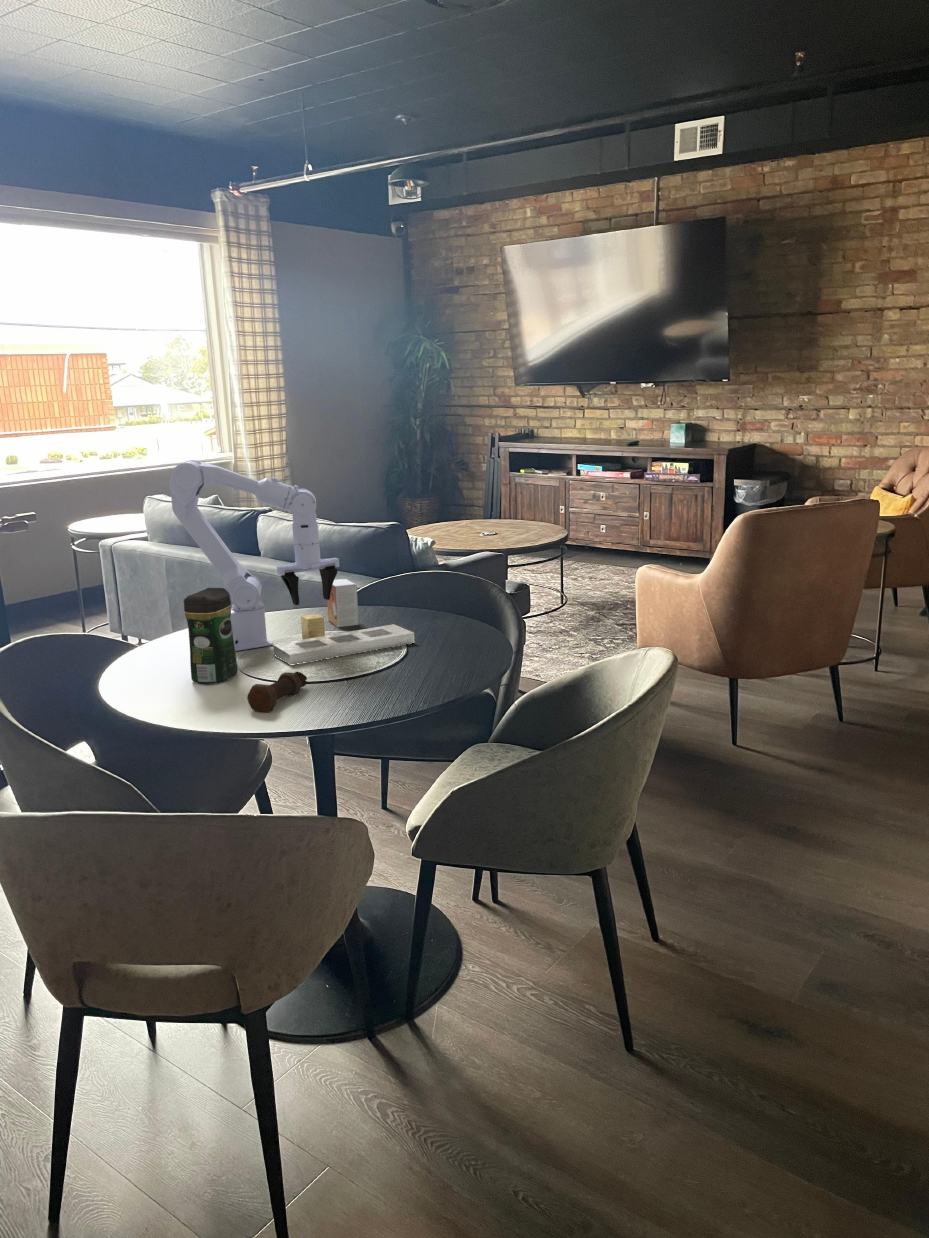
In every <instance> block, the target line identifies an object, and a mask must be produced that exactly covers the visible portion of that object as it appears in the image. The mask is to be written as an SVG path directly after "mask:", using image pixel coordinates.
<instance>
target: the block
mask: <svg viewBox="0 0 929 1238" xmlns="http://www.w3.org/2000/svg"><path fill="white" fill-rule="evenodd" d="M300 621H301V637H302V638H301V640H304V639H309V638H315V637H321V636H326V635H325V617H324V616H323V615H321V614H319V613H313V614H305V615H301V616H300Z"/></svg>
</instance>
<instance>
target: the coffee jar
mask: <svg viewBox="0 0 929 1238" xmlns="http://www.w3.org/2000/svg"><path fill="white" fill-rule="evenodd" d="M228 591H229V590H226V589H225V587H206V588H205V589H202V590H200V591H197V592H196V593H192V594H189V595H187V596H186V597H184V599H183V613H184V616H185V618H186V619H185V620H186V623H187V628H188V630H187V631H188V638H189V639H188V640H189V642H188V644H189V659H190V660H189V664H190V665H189V667H190V676H191V677H190V678H191V681H192V682H194V683H196V684H199V685H206V686H208V685H213V684H221V683H224V682H227V681H228V680H230V679H232V678H233V677H234V676H236V675H237V674H238V672H239V667H238V660H237V655H236V651H235V647H234V640H233V633H232V625H231V609H232V600H231V595H230V592H228Z"/></svg>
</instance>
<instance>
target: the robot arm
mask: <svg viewBox="0 0 929 1238" xmlns="http://www.w3.org/2000/svg"><path fill="white" fill-rule="evenodd" d="M168 484H169V489H170V495H171V497H170V498H171V507H172V508H171V509H172V512H173V514H174V516H175V517H176V518H177V519H178V521H179V522H180V524H181V525H182V526H183V527H184V529H185V530H186V532H187V533H188V534H189V535H190V537H191V538H192V539H193V541H194V542H195V544H197V546H198V548H200V550H201V551H202V553H203V554H204V555H205V557H207V559H208V560H209V562H210V563H211V564H212V566H213V567H214V569H216V571H217V572H218V573H219V575H220V577H222V581H223V583H224V586H225V587H226V589H227V591H229V592H228V593H229V595H230V600H231V603H232V604H231V625H232V633H233V640H234V647H235V652H238V651H244V650H249V649H257V648H262V647H268V646H273V645H274V642H272V641H271V640H269V639H268V637H267V624H266V613H265V611H266V610H265V603H264V602H263V601H262V600H261V599H260V596H261V595H262V593H263V587H264V586H263V584H262V582H261V580H260V579H259V578H258V577H257V576H255V575H253V574H251V573H250V572H249V570H247V568H246V567H244V566H243V565H242V564H241V563H240V562H239V561H238V559H237V558H236V557H235V555H234V554H233V553H232V551H231V550H230V549H229V547H228V546H227V545H226V543H225V542H224V541H223V540H222V538H221V537H220V535H219V534H218V533H217V531H216V530H215V529H214V528H213V526H212V525H211V523H210V522H209V520H208V519H207V518H206V516H205V515H204V514H203V513H202V511H201V510H200V508H199V507H198V503H199V499H200V498H199V497H200V493H201V490H202V489H203V487H204V488H206V487H212V486H216V485H222V486H224V487H228V488H230V489H235V490H239V491H242V492H245V493H249V494H251V495H254V496H255V497H256V499H257V501H258V503H261V504H263V505H267V506H268V507H269V506H271V507H273V508H276V509H279V510H282V511H290V512H291V516H292V524H291V526H292V539H293V549H294V559H295V562H291V563H286V564H282V565H277V566H276V573H277V574H276V575H278V576H280V578H281V580H282V581H283V583H284V585H285V587H286V588H287V590H288V592H289V595H290V598H291V601H292V604H293V605H295V606H298V605H299V606H300V595H299V576H298V575H296V574H297V573H303V572H311V571H316V570H319V574H320V579H321V583H322V584H321V586H322V597H323V599H324V600H326V601H327V600H330V594H331V589H332V585H333V582H334V580H336V577H337V575H338V568H339V567H340V559H339V558H337V557H332V558H331V557H329V558H321V548H320V537H319V536H320V535H319V523H318V522H317V520H318V517H317V516H318V515H317V513H316V512H317V511H316V509H317V499H316V496H315V495H314V493H312V491H310V490H308V489H307V488H299V485H296V484H294V485H290V484H287V483H283V482H281V481H278V478H277V477H275V476H272V477H271V478H269V477H264V478H263V479H261V480H257V479H255V478H252V477H248V476H247V475H243V474H240V473H237V472H235V471H233V470H229V469H227V468H224V467H222V466H218V465H216V464H213V463H207V462H200V461H198V460H194V459H189V460H187V461H183V462H181V463H179V464H177V465H176V466H174V468H173V469H172V472H171V475H170V479H169V482H168Z"/></svg>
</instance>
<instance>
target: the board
mask: <svg viewBox="0 0 929 1238" xmlns="http://www.w3.org/2000/svg"><path fill="white" fill-rule="evenodd" d="M412 643H414V644H415V632H414V631H411V630H408V629H407V628H403V627H401V626H399V625H396V624H394V623H392V624H388V625H387V624H386V625H381V626H375V627H369V628H365V629H357V630H352V631H345V632H341V633H333V634H327V635H325V636H321V637H315V638H309V639H304V640H302V639H299V640H291V641H287V642H280V643H276V644H274V643H273V645H272V647H273V649H272V650H273V656H274V655H276V656H277V657H279V658H281V659H282V660H284V661H286V662H287V663H289V664H297V663H303V662H310V661H316V660H321V659H326V658H332V657H336V656H342V655H348V656H350V655H349V654H354V655H356V654H355V653H359V652H364V651H370V650H376V649H381V650H383V649H382V648H387V647H392V648H395V647H394V646H397V647H400V646H399V645H403V646H407V645H406V644H408V645H413V644H412ZM387 649H388V648H387ZM376 651H377V650H376ZM370 652H371V651H370ZM359 654H360V653H359ZM277 657H276V658H277ZM279 658H278V659H279ZM332 659H333V658H332ZM282 660H281V661H282ZM321 661H322V660H321ZM316 662H317V661H316ZM287 663H286V664H287ZM310 663H311V662H310Z"/></svg>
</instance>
